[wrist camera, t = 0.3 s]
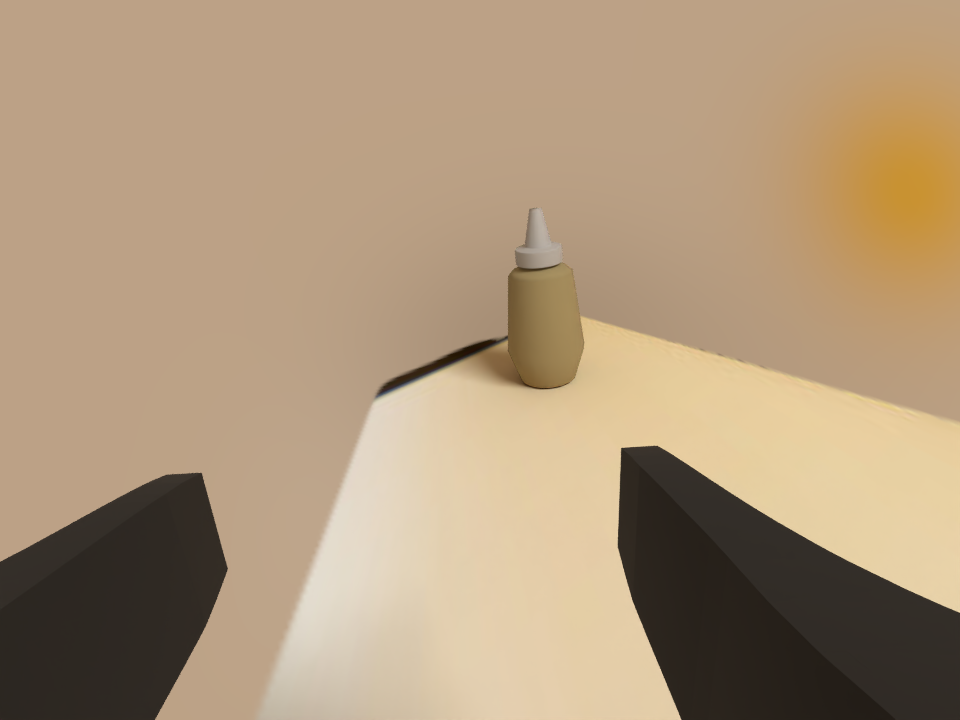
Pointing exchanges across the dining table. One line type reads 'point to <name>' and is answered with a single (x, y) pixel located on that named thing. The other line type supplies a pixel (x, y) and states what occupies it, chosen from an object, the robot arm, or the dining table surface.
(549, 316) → the squeeze bottle
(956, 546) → the dining table surface
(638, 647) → the dining table surface
